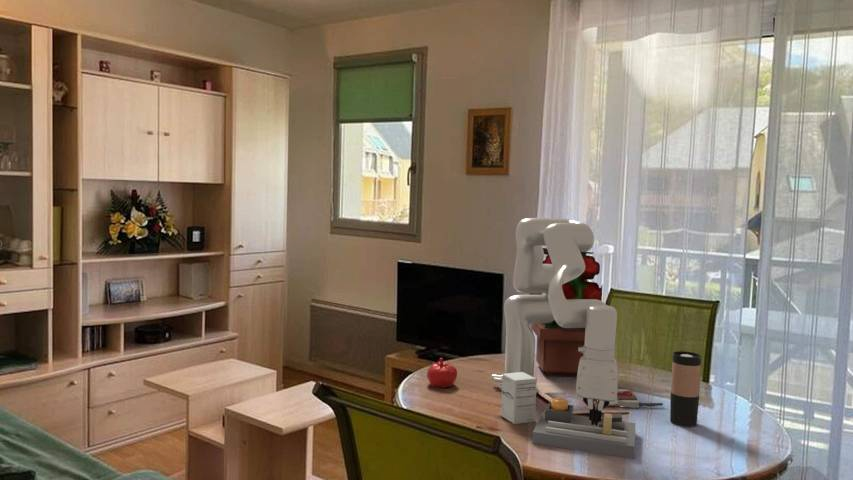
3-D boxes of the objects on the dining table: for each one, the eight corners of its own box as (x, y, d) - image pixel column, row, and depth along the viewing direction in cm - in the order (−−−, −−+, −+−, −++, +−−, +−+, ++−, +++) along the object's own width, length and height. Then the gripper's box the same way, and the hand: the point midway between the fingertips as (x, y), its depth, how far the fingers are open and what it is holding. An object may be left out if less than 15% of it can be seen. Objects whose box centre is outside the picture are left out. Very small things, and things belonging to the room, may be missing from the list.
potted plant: (598, 380, 226) (604, 253, 223) (535, 378, 227) (540, 251, 224) (583, 364, 248) (588, 248, 245) (526, 362, 249) (530, 246, 246)
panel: (532, 443, 166) (533, 420, 165) (542, 421, 183) (543, 400, 183) (633, 458, 158) (635, 434, 158) (635, 433, 175) (636, 412, 175)
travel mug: (664, 418, 188) (668, 350, 187) (689, 418, 189) (693, 351, 188) (676, 427, 181) (680, 357, 180) (702, 427, 181) (706, 357, 180)
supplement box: (499, 416, 186) (501, 373, 185) (521, 413, 189) (523, 371, 188) (513, 424, 179) (514, 380, 179) (535, 421, 182) (537, 377, 181)
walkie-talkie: (599, 409, 196) (664, 410, 197) (600, 395, 196) (664, 395, 197) (591, 400, 205) (652, 400, 206) (591, 386, 204) (653, 387, 206)
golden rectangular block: (602, 436, 163) (603, 416, 163) (603, 432, 166) (604, 413, 166) (610, 437, 162) (611, 418, 162) (611, 433, 165) (612, 414, 165)
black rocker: (602, 422, 171) (601, 418, 171) (603, 418, 175) (602, 414, 175) (621, 422, 170) (621, 417, 170) (622, 417, 173) (621, 413, 173)
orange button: (550, 412, 175) (550, 401, 175) (552, 407, 180) (552, 397, 179) (566, 414, 174) (567, 403, 174) (568, 409, 178) (568, 399, 178)
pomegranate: (456, 390, 211) (458, 363, 210) (426, 389, 211) (427, 361, 210) (456, 381, 220) (457, 354, 220) (427, 380, 221) (428, 353, 220)
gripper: (567, 353, 163) (563, 424, 164) (629, 361, 158) (624, 433, 159) (571, 346, 170) (567, 414, 171) (630, 353, 165) (625, 423, 166)
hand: (594, 423), depth 165 cm, fingers closed
